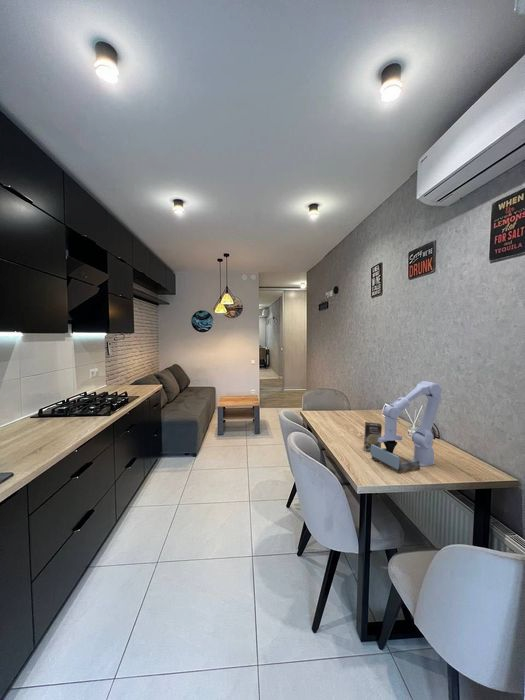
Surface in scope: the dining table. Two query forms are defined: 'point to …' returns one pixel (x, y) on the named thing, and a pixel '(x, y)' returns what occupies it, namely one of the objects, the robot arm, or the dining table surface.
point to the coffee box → (372, 435)
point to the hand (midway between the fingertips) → (389, 454)
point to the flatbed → (403, 464)
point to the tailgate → (385, 456)
